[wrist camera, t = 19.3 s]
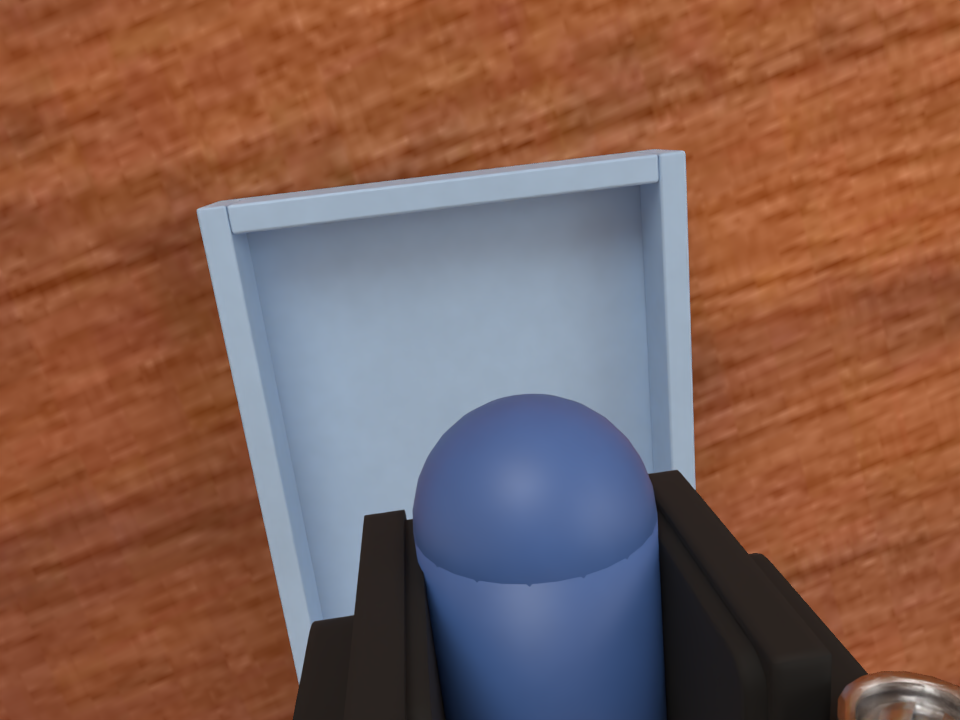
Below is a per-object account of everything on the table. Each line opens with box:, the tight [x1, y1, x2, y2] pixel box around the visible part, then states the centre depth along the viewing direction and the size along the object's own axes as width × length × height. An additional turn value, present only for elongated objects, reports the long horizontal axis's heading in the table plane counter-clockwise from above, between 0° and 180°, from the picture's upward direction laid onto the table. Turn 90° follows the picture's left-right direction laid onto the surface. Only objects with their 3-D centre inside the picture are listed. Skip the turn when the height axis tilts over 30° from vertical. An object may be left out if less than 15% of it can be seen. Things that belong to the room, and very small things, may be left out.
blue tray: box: [197, 149, 696, 684], centre depth 19 cm, size 10×16×2 cm, turn 6°
